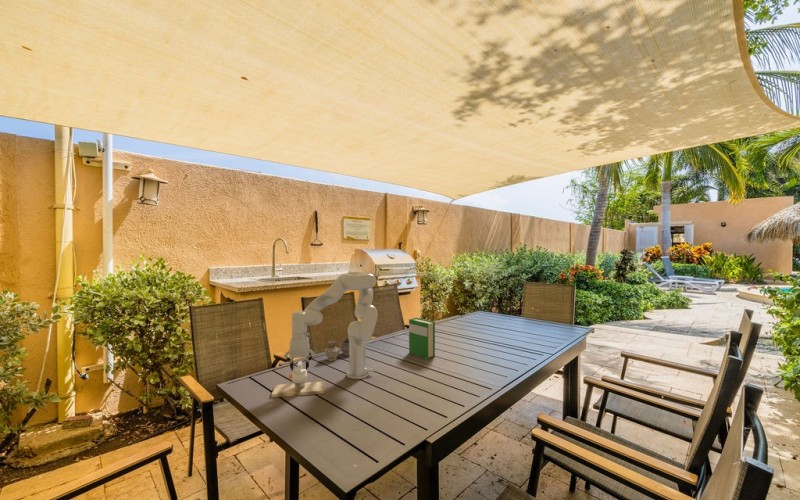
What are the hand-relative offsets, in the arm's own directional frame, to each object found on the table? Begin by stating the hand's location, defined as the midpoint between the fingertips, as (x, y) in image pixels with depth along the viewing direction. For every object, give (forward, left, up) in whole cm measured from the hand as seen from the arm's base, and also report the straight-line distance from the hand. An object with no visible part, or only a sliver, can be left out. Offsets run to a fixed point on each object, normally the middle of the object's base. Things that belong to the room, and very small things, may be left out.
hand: (299, 369), depth 178 cm
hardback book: (-77, -44, -11) cm, 89 cm away
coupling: (+1, 0, -6) cm, 6 cm away
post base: (0, 0, -11) cm, 11 cm away
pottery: (-22, -51, -12) cm, 57 cm away
